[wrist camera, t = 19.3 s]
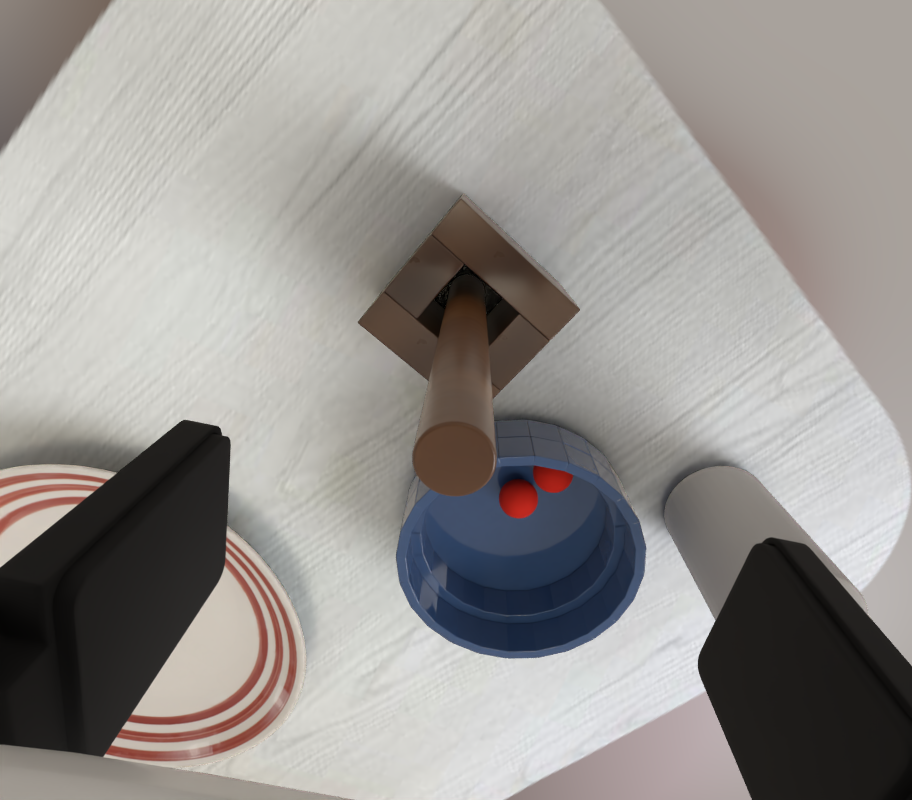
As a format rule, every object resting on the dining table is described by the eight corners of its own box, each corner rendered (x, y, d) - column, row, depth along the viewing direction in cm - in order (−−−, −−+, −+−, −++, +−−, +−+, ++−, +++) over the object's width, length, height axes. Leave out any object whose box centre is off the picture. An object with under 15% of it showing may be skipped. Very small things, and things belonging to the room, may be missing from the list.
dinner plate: (178, 781, 48) (157, 822, 45) (-121, 597, 42) (-169, 631, 39) (394, 617, 41) (387, 653, 38) (70, 357, 34) (30, 376, 31)
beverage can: (779, 507, 36) (913, 656, 25) (694, 559, 38) (783, 719, 27) (727, 441, 34) (846, 568, 23) (640, 498, 36) (713, 642, 25)
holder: (562, 285, 31) (581, 309, 26) (474, 377, 33) (473, 418, 28) (463, 193, 30) (460, 197, 24) (377, 296, 32) (357, 322, 26)
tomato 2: (580, 487, 34) (582, 460, 32) (551, 507, 33) (552, 480, 31) (553, 465, 35) (554, 438, 34) (524, 484, 35) (524, 457, 33)
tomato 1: (542, 494, 33) (536, 528, 34) (539, 473, 35) (533, 506, 36) (502, 490, 33) (497, 524, 34) (501, 469, 35) (496, 502, 36)
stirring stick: (492, 290, 31) (514, 458, 13) (468, 316, 32) (458, 512, 14) (465, 266, 31) (449, 405, 12) (442, 293, 32) (394, 464, 13)
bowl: (667, 506, 36) (698, 560, 31) (517, 627, 41) (523, 692, 36) (509, 369, 33) (515, 405, 28) (364, 517, 37) (347, 571, 32)
